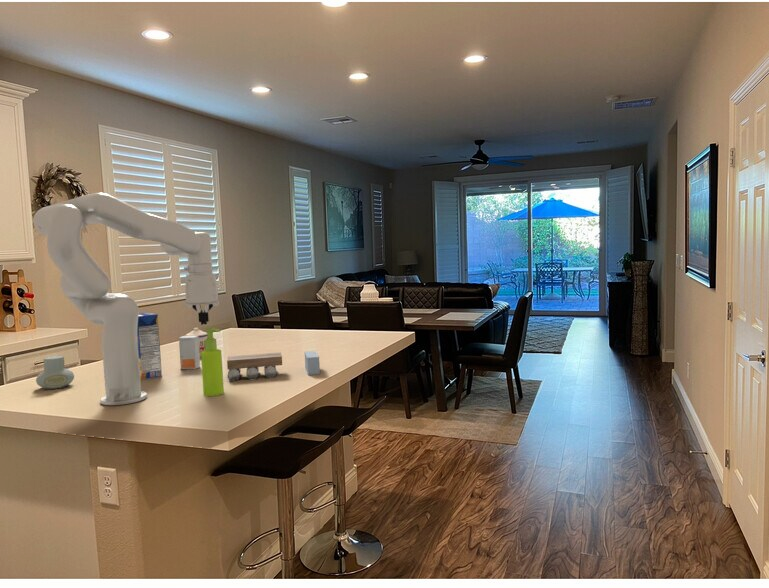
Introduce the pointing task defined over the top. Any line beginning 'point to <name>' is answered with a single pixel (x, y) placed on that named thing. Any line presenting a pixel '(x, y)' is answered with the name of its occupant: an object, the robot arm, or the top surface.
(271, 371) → the roller
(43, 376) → the air freshener
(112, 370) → the robot arm
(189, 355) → the skincare box
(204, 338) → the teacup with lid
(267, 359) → the slab
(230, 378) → the roller
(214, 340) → the soap dispenser
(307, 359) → the stop block
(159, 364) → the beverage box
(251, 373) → the roller middle
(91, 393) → the top surface
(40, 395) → the top surface
